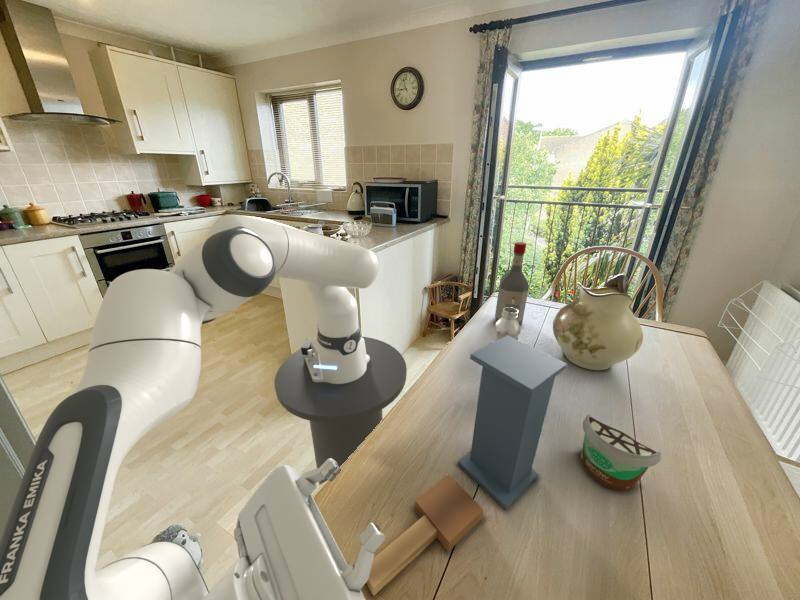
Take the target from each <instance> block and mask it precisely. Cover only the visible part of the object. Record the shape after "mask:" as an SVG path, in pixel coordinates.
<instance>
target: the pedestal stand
mask: <svg viewBox="0 0 800 600" xmlns="http://www.w3.org/2000/svg"><path fill="white" fill-rule="evenodd" d="M469 359H470V360H471V361H472V362H474V363H476V364H477V365H480V366H481V367H482V368H481V375H480V382H479V388H478V389H479V390H478V396H477V404H476V411H475V418H474V425H473V433H472V441H471V448H470V451H469V452H468V453H467V454H465V455H464V456H463V457H461V458H460V459H459V460H458V461H457V465H458V466H459V467H460V468H461V469H462V470H463V471H464V472H465V473H466V474H467V475H468V476H469V477H470V478H471V479H472V480H473V481H475V482H476V484H477V485H479V486H480V487H481V488H482V489H483V490H484V491H485V492H486V493H487V494H488V495H489V496H490V497H491V498H492V499H494V501H495V502H496V503H498V504H499V505H500V506H501V507H502V508H503V510H507V509H508V507H510V506H511V505H512V504H513V502H515V500H516V499H518V497H519V496H520V495H522V493H523V492H524V491H525V490H526V489H528V487H529V486H530V485H531V484H532V483H533V482H534V480H536V479H537V478H538V475H539V473H538V472H537V471H536V470H534V469H533V465H534V460H535V457H536V454H537V450H538V446H539V442H540V438H541V434H542V432H543V431H542V430H543V426H544V423H545V418H546V414H547V411H548V407H549V403H550V399H551V395H552V391H553V387H554V384H555V380H556V378H557V376H559V375H560V374H562V372H564V371H565V370H567V367H568V363H566V362H564V361H562V360H561V359H558V358H556V357H554V356H552V355H550V354H548V353H545V352H544V351H542V350H539V349H537V348H535V347H533V346H530V345H529V344H527V343H524V342H522V341H520V340H519V339H518V340H516V339H514V338H512V337H510V336H508V335H507V336H505V337H503V338H501V339H499V340H497V341H495V342H491V343H489V344H488V345H485V346H483V347H482V348H479V349H477V350H475V351H474V352H472V353H470V356H469Z"/></svg>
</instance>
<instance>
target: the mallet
mask: <svg viewBox="0 0 800 600" xmlns="http://www.w3.org/2000/svg"><path fill="white" fill-rule="evenodd" d="M414 511H415V512H416V514H417V515H418V516H419V517H420V518H419V519H418V520H416V521H415V522H414V523H413V524H412V525H411V526H410V527H408V528H407V529H405V531H404V532H403V533H401V534H400V535H399V536H397V538H395V539H394V540H393V541H392V542H391V543H389V544H388V545H387V546H386V547H384V548H383V549H382V550H381V551H380V552H379V553H377V554H376V555H374V559H373V563H372V567H371V571H370V575H369V579H368V580H367V582H366V583H365V584H366V585H367V587H368V589H369V591H370V593H371V595H372V596H373V597H374V596H376V595H377V594H378V593H379V592H380V591H381V590H383V588H384V587H385V586H387V585H388V584H389V583H390V582H391V581H392V580H393V579H394V578H395V577H396V576H397V575H398V574H399V573H400V572H401V571H403V570H404V569H405V568H406V567H407V566H409V564H410V563H411V562H413V560H414V559H416V557H418V556H419V555H420V554H421V553H422V552H423V551H424V550H425V549H426V548H427V547H428V546H429V545H431V544H432V543H433V542H434V541H435V540H436V539H437V540H438V541H439V542H440V543H441V545H442V546H443V547H444V549H445V550H446V551H447V552H448V553H449V552H450V551H451V550H452V549H453V548H454V547H455V546H456V545H457V544H458V543H459V542H460V541H462V539H463V538H464V537H465V536H466V535H467V534H468V533H469V532H470V531H471V530H472V529H473V528H474V527H475V526H476V525H477V524H479V522H481V520H482V519H483V514H484V508H483V507H482V506H481V505H480V504H479V503H478V502H477V501H476V500H475V499H474V498H473V497H472V496H471V495H470V494H469V493H468V492H467V491H466V490H465V489H464V488H463V487H462V486H461V485H460V484H459V482H457V481H456V480H455V479H454V478H453V477H452V476H451V475H450V474H449V473H447V474H446V475H445V476H444V477H442V478H441V479H440V480H439V481H438V482H436V483H435V484H433V486H431V487H430V488H429V489H427V490H426V491H425V492H423V493H422V494H420V496H419V497H416V499H415V500H414Z"/></svg>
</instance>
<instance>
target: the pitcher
mask: <svg viewBox="0 0 800 600" xmlns="http://www.w3.org/2000/svg"><path fill="white" fill-rule="evenodd" d="M576 285H577V287H578V289H579V293H580V295H579V297H577V298H576V299H575V300H572V301H571V302H569V303H567V304H566V305H564V306H562V307H561V308H560V309H559V310H558V311H557V313H556V314H555V316H554V319H553V321H552V332H553V336H554V339H555V341H556V342H557V344H558V345H559V347H560V348H561V349H562V351H563V353H564V356H565V357H566V359H567V360H568V361H570V362H571V363H572V364H574V365H576V366H578V367H581V368H583V369H586V370H592V371H605V370H608V369H610V367H612V366H613V365H617V364H619V363H620V364H621V363H622V362H625V361H627V360H629V359H630V358H632V357H634V355H636V354H637V353H638V352H639V350H640V348H641V347H642V344H643V342H644V332H643V329H642V326H641V324H640V322H639V320H638V318H637V317H636V316H635V314H634V311H633V308H631V306H630V305H631V304H632V303H633V297H631V295H629V294H627V293H628V290H629V288H630V287H629V286H630V281H629V278H628V277H627V276H626V275H625V274H623V273H619V274H616V275H615V276H613V277H611V278H610V279H609V280H608V281H607V282H606V283H605V284H604V285H603V286H602V287H596V288H589V287H585V286H583V285H582V284H581V282H579V281H577V282H576Z"/></svg>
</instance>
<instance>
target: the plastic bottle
mask: <svg viewBox="0 0 800 600" xmlns="http://www.w3.org/2000/svg"><path fill="white" fill-rule="evenodd" d="M517 317H518V310H517V309H515V308H511V307H505V308H503V312H502V318H500V319H499V320H498V321H497V322H496V321H495V324H494V327H493V329H494V331H493V332H494V340H493V341H494V342H495V341H497V340H499V339H501V338H503V337H505V336H507V335H508V336H510V337H512V338H514V339H516V340H518V341H519V337H520V335H521V327H520V325H519V323H518V322H517V320H516V319H517Z"/></svg>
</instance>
